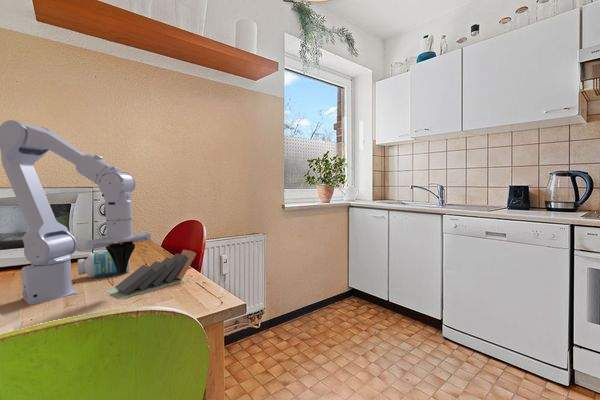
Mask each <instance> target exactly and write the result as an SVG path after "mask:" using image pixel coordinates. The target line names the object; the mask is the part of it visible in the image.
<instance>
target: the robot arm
mask: <svg viewBox="0 0 600 400" xmlns="http://www.w3.org/2000/svg"><path fill="white" fill-rule="evenodd" d="M49 152H52V153H54V154H56V155H57V156H59V157H60V158H63V159H65V160H66V161H67V162H70V163H71V164H74V165H75V170H76V172H77V173H78V174H79V175H82V176H83V177H85V178H86V179H88V181H89V180H90V181H91V182H92V183H94V184H96V185H97V186H98V188H99V191H101V193H102V194H103V200H104V203H105V205H104V207H105V209H104V210H105V227H106V228H105V229H106V230H105V231H106V232H105V233H106V237H102V238H94V239H89V240H85V241H84V242H85V244H84V245H85V250H94V249H98V248H99V249H100V248H105V250H106V252H109V254H110V255H111V257H112V259H113V261H114V264H115V266H116V270H117V273H120V274H126V270H127V265H128V262H129V260H131V259H130V258H131V256H132V254H133V252H134V250H135V248H136V244H135V243H138V242H139V243H140V242H149V241H152V239H151V237H152V236H151V233H149V232H141V233H134V232H133V231H134V229H133V205H132V204H133V203H132V202H133V201H132V200H133V199H132V193H133V191H134V190H135V188H136V180H135V178H134V177H133V175H132V174H130V172H125V171H121V172H120V171H119V167H117V166H114V165H111V164H109V163H108V162H106V161H104V160H103V159H104V157H103V156H101V155H100V154H94V153H88V154H85V153H84V152H82V151H81V150H79V148H76V147H75V146H73V145H72V144H71V143H69V142H68V141H67V140H65V139H64V138H62V137H61V136H60V135H59V134H58V133H57V132H54V131H52V130H50V129H49V128H47V127H41V126H36V125H31V124H27V123H23V122H19V121H17V120H12V119H11V120H10V119H9V120H5V121H3V122H2V123H1V124H0V159H1V160H0V161H1V164H2V167H3V169H4V171H5V175H6V176H7V179H8V181H9V183H10V186H11V189H12V191H13V194H14V196H15V199H16V200H17V203H18V204H19V208H20V210H21V212H22V215H23V217H24V220H25V223H26V224H27V226H28V230H27V232H26V233H24V235H23V236H22V237H21V240H22V242H23V246H24V247H23V254H24V257H25V258H26V260H27V261H28V262H29V263H31V264H30V265H26V266H23V267H22V268H21V288H22V300H24V302H26V303H27V304H28V305H29V306H33V305H36V304H41V303H44V302H49V301H53V300H57V299H60V298H61V299H62V298H66V297H69V296H72V295H77V294H78V293H79V292H78V291H77V290H75V289H73V283H72V268H71V267H72V266H71V259H73V254H74V253H75V252H76V250H77V249H78V242H77V240H76V238H75V236H74V235H72V234H71V233H70V231H69V229H68V227H67V226H65V225H64V224H62V223H60V222H58V221H57V219H56V217H55V213H54V212H53V210H52V206H51V205H50V202H49V200H48V197H47V196H46V193H45V191H44V187H43V185H42V183H41V181H40V178H39V175H38V173H37V171H36V169H35V167H34V165H35V163H36V162H38V161H39V160H41V158H43V157H44V156H45V155H46V154H47V153H49ZM120 274H119V275H120Z"/></svg>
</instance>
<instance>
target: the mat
mask: <svg viewBox="0 0 600 400" xmlns="http://www.w3.org/2000/svg"><path fill="white" fill-rule="evenodd" d="M185 281H188V279H186V278H183V279H182V280H180V279H177V278H173V280H172V281H171V282H170V283H167V282H164V281H162V282H161V283H160V284H159V285H158V286H157V287H155V286H152V285H148V286H147V287H146V288H145V289H144V290H143V291H141V290H139V289H136V288H135V289H134V290H133V291H132V292H130V293H129V294H128V295H125V294H123V293H120V292H118V291H117V289H116V288H115V287H113V288H111V289H107V290H104V292H105V293H107V294H109V295H111V296H113V297H115V298H117V299H120V300H124V299H127V298H130V297H134V296H137V295H138V296H139V295H140V294H144V293H149V292H151V291H154V290H158V289H161V288H165V287H166V288H167V287H168V286H172V285H176V284H180V283H183V282H185Z"/></svg>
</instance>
